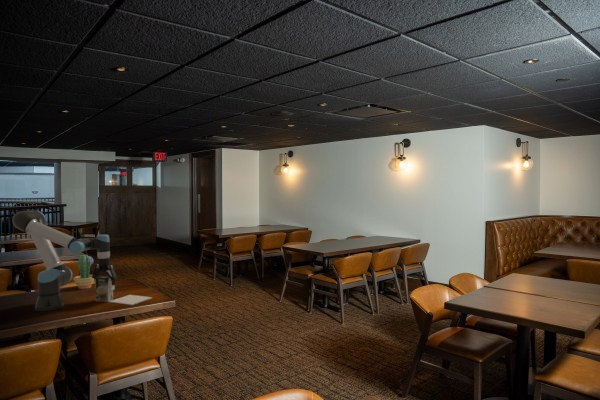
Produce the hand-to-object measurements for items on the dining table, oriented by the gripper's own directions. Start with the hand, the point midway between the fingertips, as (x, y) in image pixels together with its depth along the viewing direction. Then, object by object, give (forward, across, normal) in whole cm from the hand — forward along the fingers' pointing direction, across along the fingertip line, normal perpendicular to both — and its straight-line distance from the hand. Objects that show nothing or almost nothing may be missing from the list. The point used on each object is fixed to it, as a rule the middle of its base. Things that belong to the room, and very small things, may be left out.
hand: (105, 289), depth 268 cm
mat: (+8, -16, -7) cm, 19 cm away
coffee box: (+8, 0, 0) cm, 8 cm away
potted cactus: (+7, +46, -23) cm, 52 cm away
